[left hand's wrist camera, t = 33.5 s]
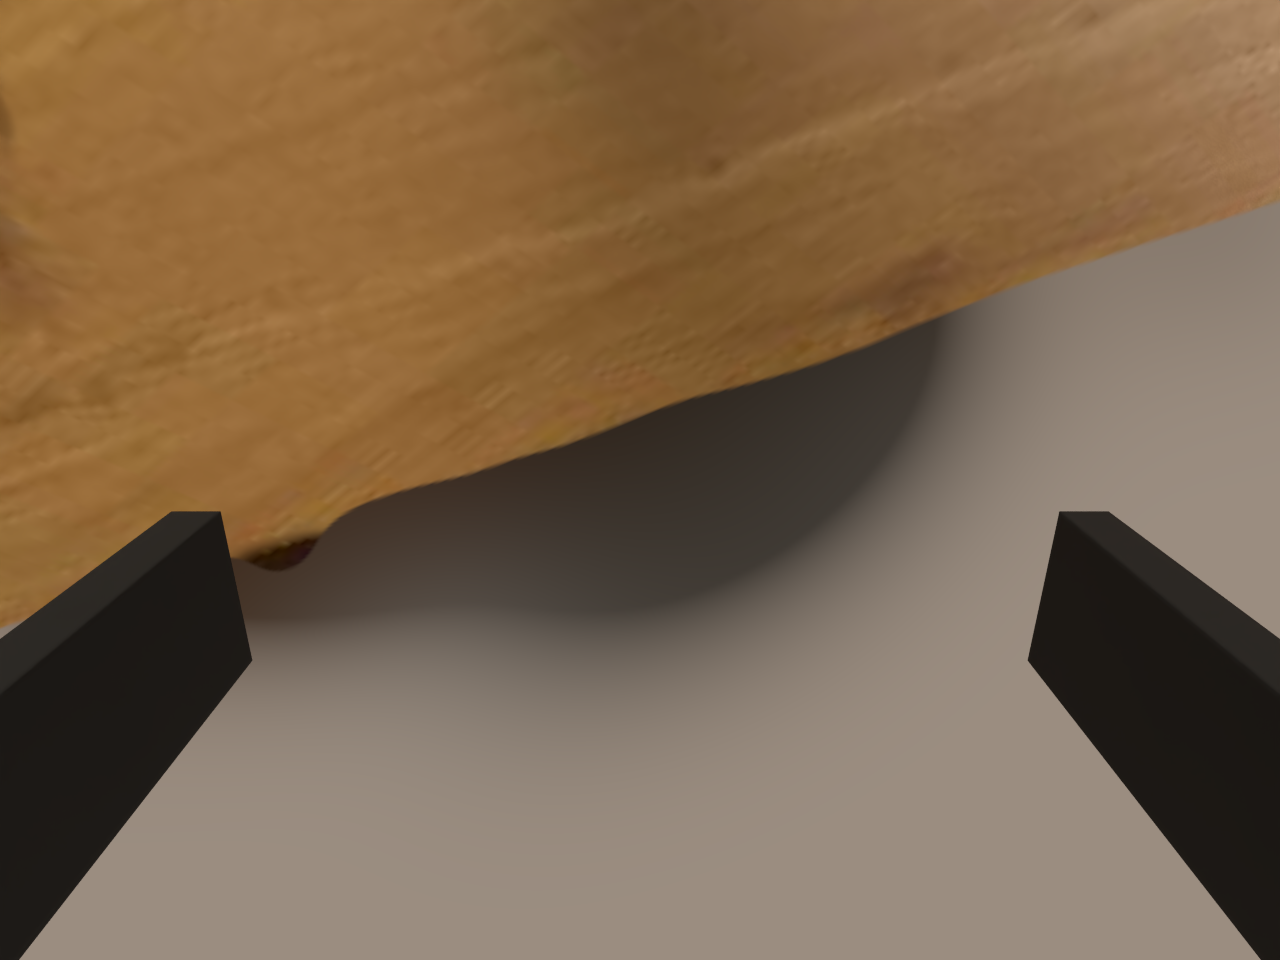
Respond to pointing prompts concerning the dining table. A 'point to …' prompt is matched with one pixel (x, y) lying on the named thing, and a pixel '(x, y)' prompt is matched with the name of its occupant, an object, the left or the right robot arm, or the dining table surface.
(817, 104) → the dining table surface
